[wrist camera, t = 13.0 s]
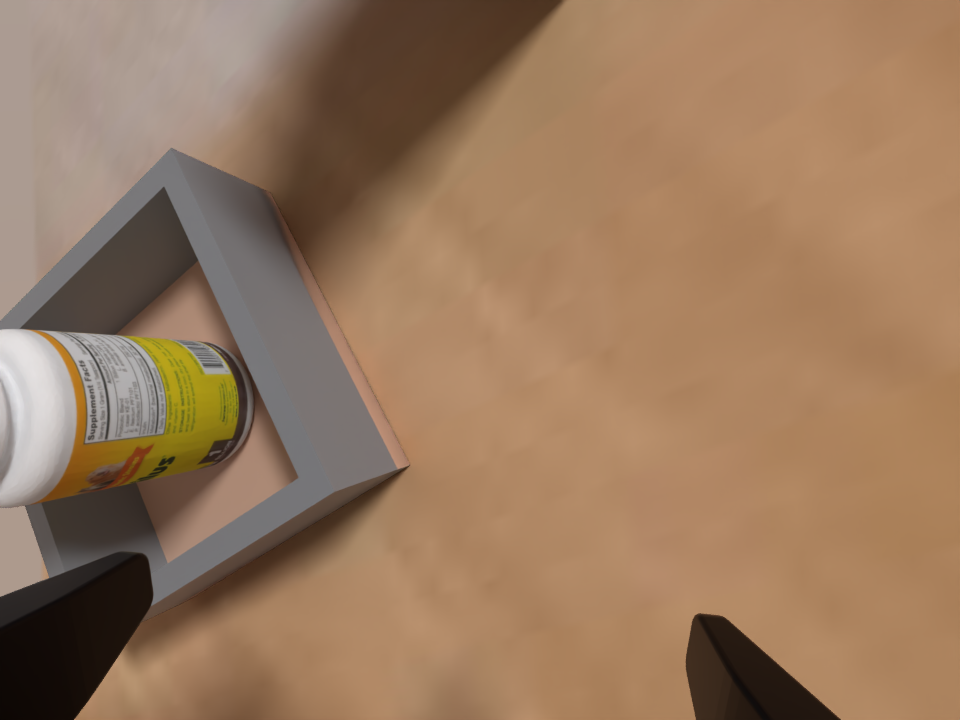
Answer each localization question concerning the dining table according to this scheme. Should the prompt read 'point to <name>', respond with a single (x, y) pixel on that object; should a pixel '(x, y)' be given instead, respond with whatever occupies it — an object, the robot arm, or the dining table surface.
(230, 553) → the walled box
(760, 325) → the dining table surface
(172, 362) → the supplement bottle
